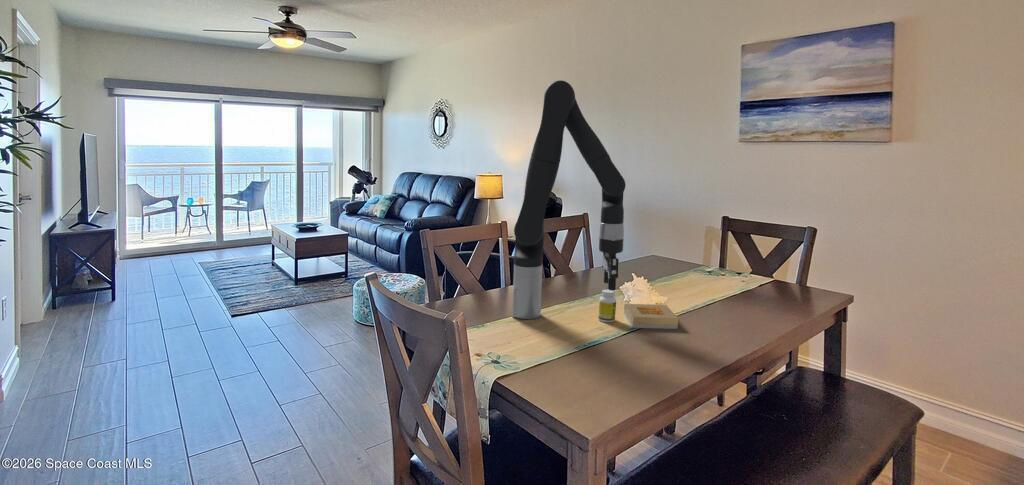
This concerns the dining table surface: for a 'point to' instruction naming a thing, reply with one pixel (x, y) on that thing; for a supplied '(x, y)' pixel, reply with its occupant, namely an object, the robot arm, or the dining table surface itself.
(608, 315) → the supplement bottle
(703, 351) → the dining table surface
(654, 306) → the block
